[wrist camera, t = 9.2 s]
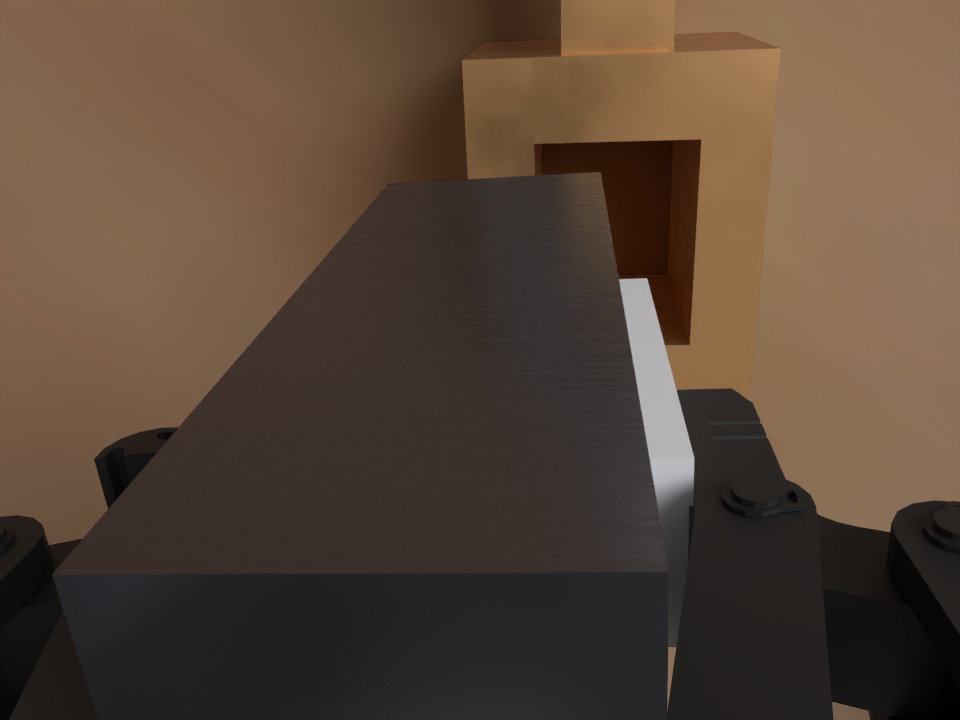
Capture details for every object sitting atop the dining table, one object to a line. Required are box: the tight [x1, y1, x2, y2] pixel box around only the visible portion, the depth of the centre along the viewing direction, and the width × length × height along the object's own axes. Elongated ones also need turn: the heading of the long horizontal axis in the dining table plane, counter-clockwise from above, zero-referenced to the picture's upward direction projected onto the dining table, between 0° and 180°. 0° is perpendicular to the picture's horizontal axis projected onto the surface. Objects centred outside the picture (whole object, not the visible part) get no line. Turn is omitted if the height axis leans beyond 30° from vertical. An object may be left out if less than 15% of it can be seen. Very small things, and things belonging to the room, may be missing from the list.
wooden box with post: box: [462, 0, 781, 401], centre depth 29 cm, size 30×12×20 cm, turn 2°
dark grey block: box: [52, 172, 669, 720], centre depth 12 cm, size 4×6×12 cm, turn 4°
